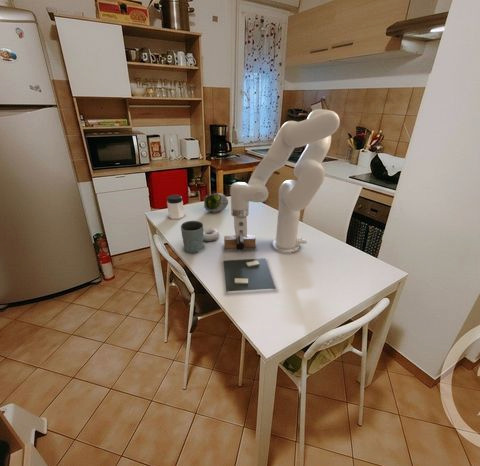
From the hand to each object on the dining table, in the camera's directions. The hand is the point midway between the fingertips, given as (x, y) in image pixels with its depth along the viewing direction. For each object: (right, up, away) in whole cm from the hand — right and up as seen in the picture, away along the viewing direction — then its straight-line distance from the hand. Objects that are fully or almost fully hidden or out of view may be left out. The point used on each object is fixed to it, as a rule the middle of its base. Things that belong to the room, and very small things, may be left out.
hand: (239, 247), depth 122 cm
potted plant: (-15, +20, +39) cm, 46 cm away
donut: (-15, +4, +10) cm, 19 cm away
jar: (-37, +16, +32) cm, 52 cm away
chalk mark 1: (+1, -12, -23) cm, 26 cm away
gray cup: (-21, -1, 0) cm, 21 cm away
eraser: (0, -1, 0) cm, 1 cm away
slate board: (+3, -10, -18) cm, 21 cm away
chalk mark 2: (+5, -6, -13) cm, 15 cm away
